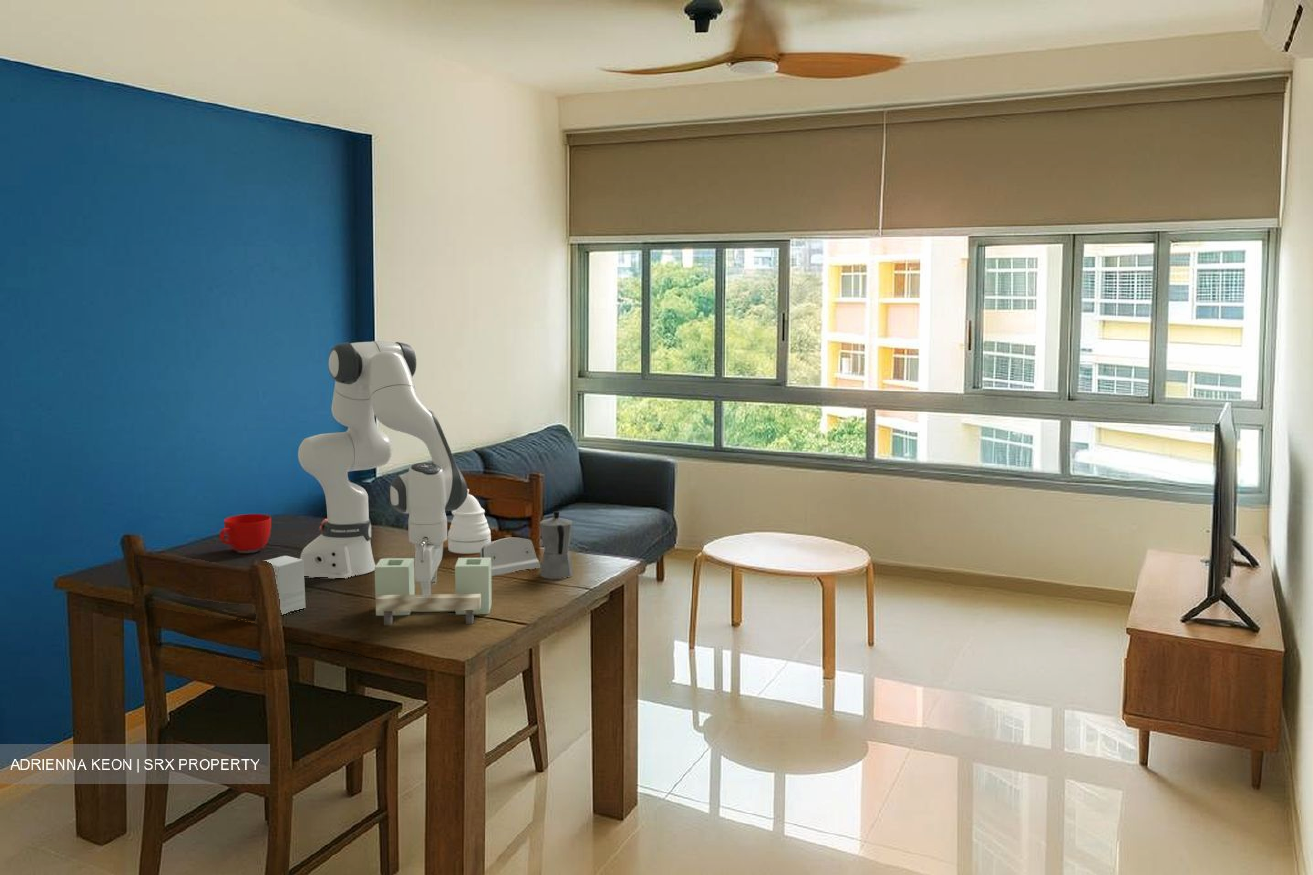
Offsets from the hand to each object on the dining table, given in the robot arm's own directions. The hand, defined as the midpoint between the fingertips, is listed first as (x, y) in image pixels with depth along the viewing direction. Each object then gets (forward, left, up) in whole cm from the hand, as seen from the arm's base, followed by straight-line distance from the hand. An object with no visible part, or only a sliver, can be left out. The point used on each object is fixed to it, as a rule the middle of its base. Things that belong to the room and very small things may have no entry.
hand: (429, 590), depth 238 cm
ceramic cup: (-64, +67, -8) cm, 93 cm away
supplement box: (-37, +11, -8) cm, 39 cm away
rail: (0, 0, -8) cm, 8 cm away
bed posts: (0, +10, -8) cm, 13 cm away
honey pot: (+2, +71, -8) cm, 71 cm away
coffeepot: (+29, +39, -8) cm, 50 cm away
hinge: (+16, +47, -8) cm, 50 cm away
